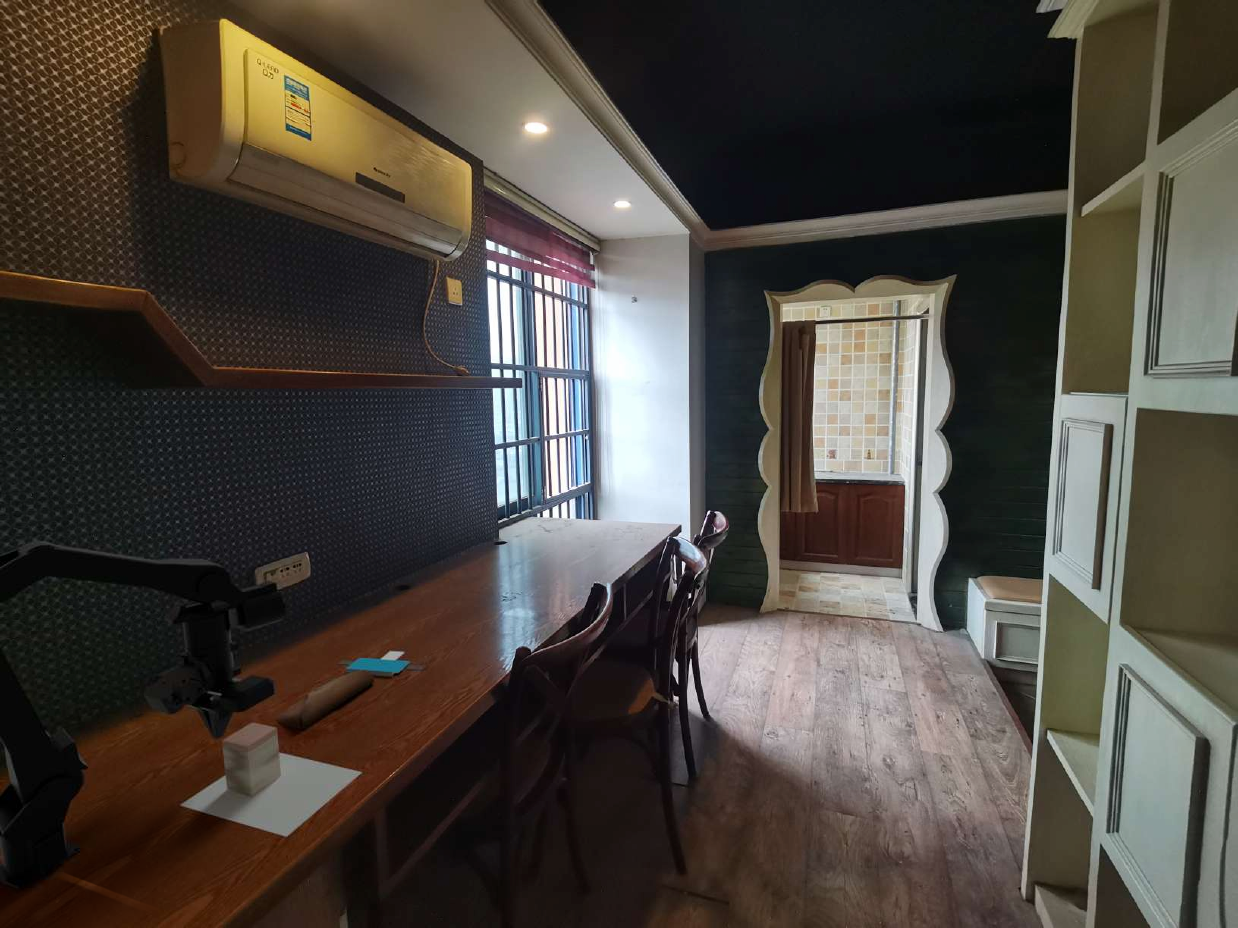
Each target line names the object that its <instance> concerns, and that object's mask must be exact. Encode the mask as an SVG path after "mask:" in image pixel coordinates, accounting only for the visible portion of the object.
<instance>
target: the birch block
mask: <svg viewBox="0 0 1238 928" xmlns="http://www.w3.org/2000/svg"><path fill="white" fill-rule="evenodd" d="M278 734H279V733H278V727H275V726H269V725H265V724H261V723H257V722H254V721H253V722H251V723H249V724H247V725H245V726H244V727H243V728H241V729H239V730H237V731H235V732H234V733H232V734H231V735H229V736H227V737H226V738H224V739H222V740H221V743H222V752H223V763H224V773H225V775H226V784H227V790H229V791H232V792H236V793H240V794H243V795H247V796H251V797H253V796H254V795H256V794H257V793H258V792H260V791H261V790H262V789H264V788H265V787H266V786H268V785H269V784H271V783H272V782H273V781H275V780H276V779H277V778H279V777H280V776H281V769H280V757H279V753H280V748H279V738H278V737H279V736H278Z"/></svg>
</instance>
